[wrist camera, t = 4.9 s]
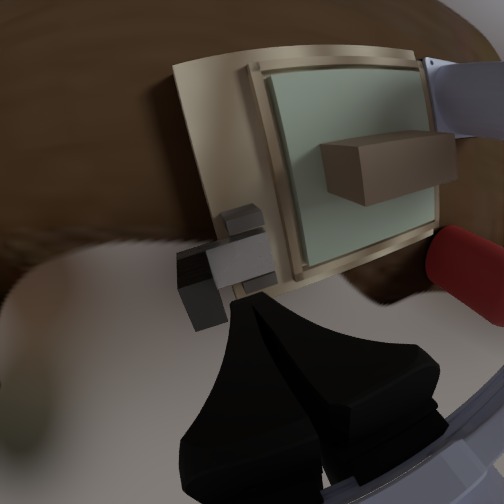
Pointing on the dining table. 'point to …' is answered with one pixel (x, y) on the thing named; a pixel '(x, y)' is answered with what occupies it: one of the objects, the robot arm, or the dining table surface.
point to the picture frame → (271, 152)
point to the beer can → (469, 270)
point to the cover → (358, 156)
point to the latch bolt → (220, 273)
